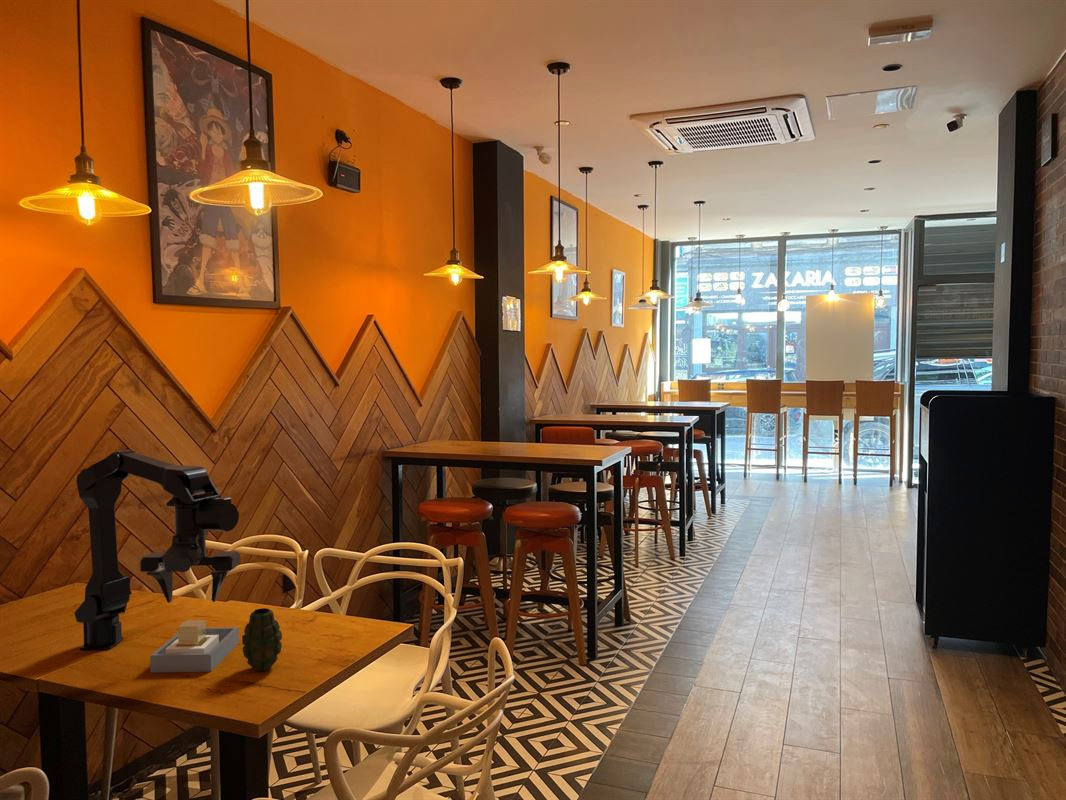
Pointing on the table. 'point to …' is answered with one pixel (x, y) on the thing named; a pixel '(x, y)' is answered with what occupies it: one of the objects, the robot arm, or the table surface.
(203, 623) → the peg
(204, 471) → the robot arm
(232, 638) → the walled frame
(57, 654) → the table surface
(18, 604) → the table surface
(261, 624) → the grenade
